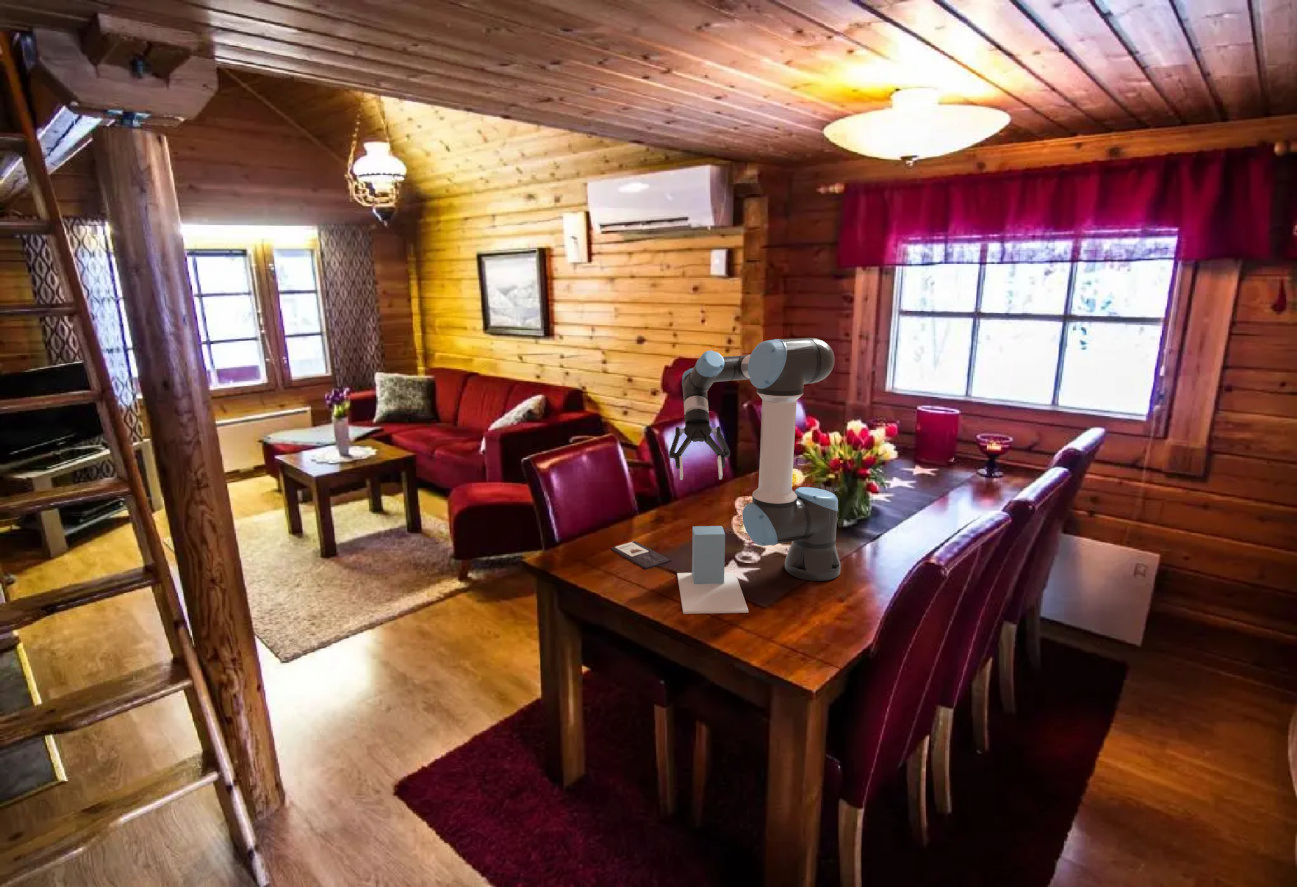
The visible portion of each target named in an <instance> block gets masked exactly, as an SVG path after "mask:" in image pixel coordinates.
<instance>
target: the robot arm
mask: <svg viewBox="0 0 1297 887" xmlns="http://www.w3.org/2000/svg"><path fill="white" fill-rule="evenodd" d="M835 360H836V359H835V354H834V351H833V349H832V347H831V346H830V345H829V344H828V343H826V342H825V341H824V340H822V339H819V338H815V337H805V338H780V339H779V338H774V339H769V340H764V341H762V342H759V343H758V344H757V345H756V346H755V348H754V349H753V350H752V351H751V354H743V355H732V356H731V355H729V356H722V355H721V354H720V353H719V352H718V351H717V352H716V351H714V350H707V351H705V352H703V353H702V354H701V356H700V357H699V358H698V359H697V361H696V363H695V365H694V367H692V368H688V369H687V370H685V371H684V372H683V374H682V377H681V378H682V381H681V386H682V396H683V397H682V398H683V409H684V410H683V412H684V413H683V414H684V427H682V428H680V427H679V426H676V427H675V429H674V431H675V432H674V436H673V440H672V444H671V446H670V449H669V453H668V458H669V459H674V461H675V469H676V470H679V480H680V481H683V480H684V467H683V454H684V452H685V451H686V449H687V448H688V447H689V446H690V444H691V443H692V442H693V443H696V442H700V443H703V442H704V443H705V444H706V445H708V446H709V448H710V449H711V450H712V451H713V452H714V454H715V455H716V456H717V460H716V461H717V467H718V468H717V470H718V471H717V472H718V480H722V479H723V469H725V467H726V458H730V455H731V450H730V448H729V446H728V444H727V442H726V440H725V438H724V436H723V434H722V427H721V426H717V427H712V425H711V424H710V413H709V400H708V391H709V389H710V388H711V387H712V385H713V384H714V383H717V382H718V383H719V382H729V381H743V380H744V381H745V380H746V381H747V380H749V381H750V383H751V384H752V386H753V387H755V388H756V394H757V395H758V396H759V397H760V398H761V400H762V402H761V404H762V405H761V424H760V425H761V426H760V444H759V448H760V451H759V473H758V488H756V489H755V490H754V491H753V492H752V495H751V496H752V499H751V500H752V502H751V503H747V504H746V505H745V506H744V508H743V510H742V521H743V527H744V530H745V532H746V533H747V536H748V537H749V539H750V540H751V541H752V542H753V543H754V544H756V545H758V546H760V547H768V546H776V545H779V544H784V543H785V544H786V543H790V542H791V543H790V547H789V550H788V551H787V554H786V557H785V560H784V569H785V571H786V572H787V574H789V575H791V576H792V577H795V578H798V579H801V580H805V581H811V582H812V581H813V582H822V581H823V582H824V581H825V582H826V581H830V580H833V579H836V578H837V577H839V575H840V574H841V561H840V557H839V553H838V550H837V546H836V540H837V526H838V512H839V508H838V507H839V500H838V496H837V495H835V493H833V492H831V491H828V490H825V489H820V488H816V487H809V486H807V487H806V486H799V487H796V489H795V490H793V488H792V487H793V474H794V470H793V469H794V456H795V454H794V451H795V436H796V419H797V418H796V417H797V405H798V404H797V402H798V400H799V399H800V398H801V397H802V396H803V395H804V385H808V384H809V385H810V384H815V383H819V382H821V381H824V380H825V379H827V377H828V376H829V375H831V372H832V371H833V368H834V366H835ZM683 434H684V435H685V436H686V438H685V439H684V441H683V442H682V443H681V445H680V447H679V448H678V449H677V447H678V443H679V440H680V437H681V436H682V435H683ZM711 434H713V435H714V436H715V437H716V440H717V442H718V444H719V445H718V444H717V442H716V441H715V440H714V439H713V438H712V435H711ZM676 449H677V451H676Z"/></svg>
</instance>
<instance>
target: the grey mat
mask: <svg viewBox="0 0 1297 887" xmlns="http://www.w3.org/2000/svg"><path fill="white" fill-rule="evenodd" d="M676 575H677V582H678V589H679V594H680V602H681V608H682V613H683V614H684V615H689V614H690V615H691V614H693V615H694V614H696V615H697V614H698V615H699V614H739V613H740V614H741V613H744V614H745V613H749V608H748V605H747V603H746V600H745V597H744V594H743V590H742V588H741V585H740V582H739V579H738V576H737V574H736V571H731V572H730V571H729V572H728V571H724V584H694V581H693V576H692V572H677V573H676Z"/></svg>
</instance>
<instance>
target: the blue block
mask: <svg viewBox="0 0 1297 887" xmlns="http://www.w3.org/2000/svg"><path fill="white" fill-rule="evenodd" d="M691 540H692V549H691V550H692V551H691V552H692V554H691V555H692V556H691V558H692V561H691V562H692V563H691V573H692V576H693V581H694V584H724V572H725V562H726V561H725V558H726V557H725V556H726V555H725V554H726V551H725V550H726V533H725V530H724V528H723V526H722V525H709V526H707V525H704V526H703V525H700V526H698V525H697V526H696V525H695V526H694V525H693V526H692V538H691Z"/></svg>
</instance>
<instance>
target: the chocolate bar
mask: <svg viewBox="0 0 1297 887" xmlns="http://www.w3.org/2000/svg"><path fill="white" fill-rule="evenodd" d="M610 550H611V551H612V552H614V553H616V554H617V555H619V556H621V557H623V558H625V559H627V560H628V561H630V562H632V563H633V564H635V565H637V566H639V567H641V568H642V569H643V570H644V569H645V570H650V569H652V568H655V567H659V566H662V565H666V564H668V563H671V562H672V559H671V558H668V557H666V556H664V555H662V553H661V554H660V553H659V552H657V551H655V550H653V549H651V548H649V547H648V546H646V545H644V544H642V543H639V542H637V541H636V540H634V541H631V542H628V543H623V544H620V545H616V546H614V547H611V548H610Z"/></svg>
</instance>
